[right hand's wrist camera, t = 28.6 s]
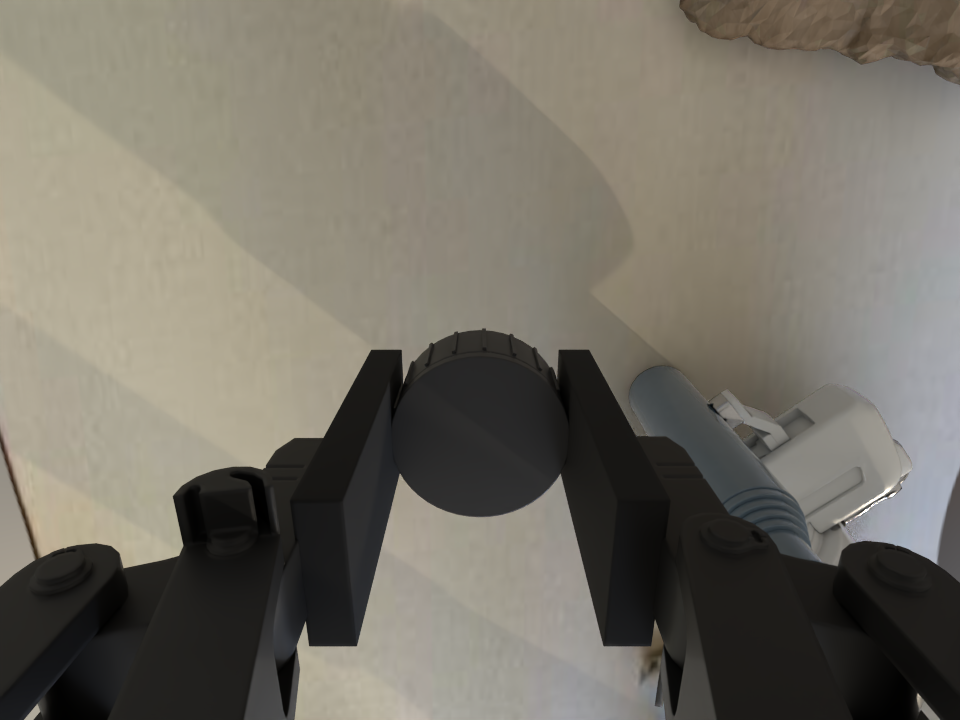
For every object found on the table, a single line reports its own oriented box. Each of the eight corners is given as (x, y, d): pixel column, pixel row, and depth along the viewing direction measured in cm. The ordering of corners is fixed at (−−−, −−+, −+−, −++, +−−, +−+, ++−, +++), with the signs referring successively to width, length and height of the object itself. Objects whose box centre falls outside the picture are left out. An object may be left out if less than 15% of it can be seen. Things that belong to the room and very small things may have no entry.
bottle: (677, 427, 45) (832, 646, 25) (620, 414, 45) (732, 627, 25) (698, 373, 43) (882, 562, 24) (640, 359, 43) (776, 540, 23)
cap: (595, 405, 15) (611, 442, 13) (480, 502, 16) (480, 549, 14) (480, 292, 14) (481, 315, 12) (365, 405, 15) (349, 441, 13)
